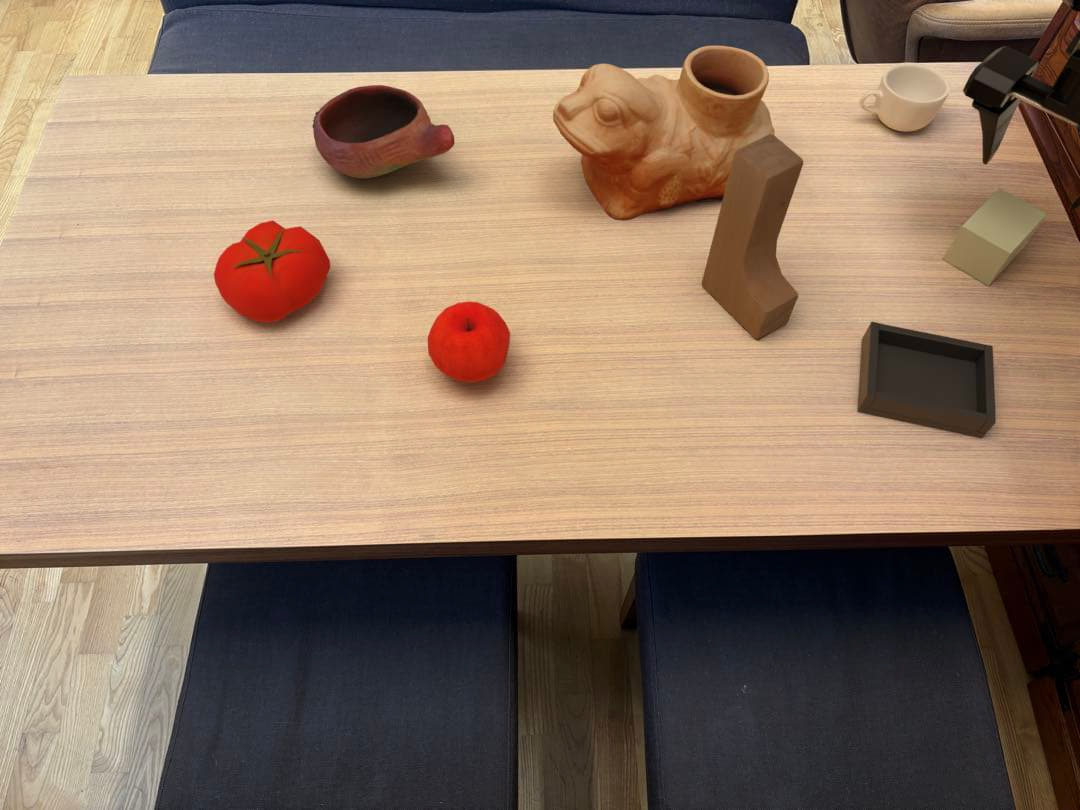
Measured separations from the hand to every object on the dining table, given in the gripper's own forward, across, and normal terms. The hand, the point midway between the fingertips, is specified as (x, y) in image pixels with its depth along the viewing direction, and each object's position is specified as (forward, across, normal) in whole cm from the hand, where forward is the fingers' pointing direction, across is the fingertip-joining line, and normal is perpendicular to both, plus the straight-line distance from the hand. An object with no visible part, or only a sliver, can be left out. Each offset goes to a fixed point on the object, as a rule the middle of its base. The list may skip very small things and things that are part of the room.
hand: (1028, 184), depth 84 cm
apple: (+10, +29, +50) cm, 58 cm away
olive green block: (+10, 0, 0) cm, 10 cm away
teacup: (+10, +19, -12) cm, 25 cm away
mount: (+10, -4, +20) cm, 23 cm away
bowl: (+10, +57, +36) cm, 68 cm away
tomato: (+10, +50, +57) cm, 76 cm away
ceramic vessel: (+10, +33, +16) cm, 38 cm away
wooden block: (+10, +14, +24) cm, 30 cm away
